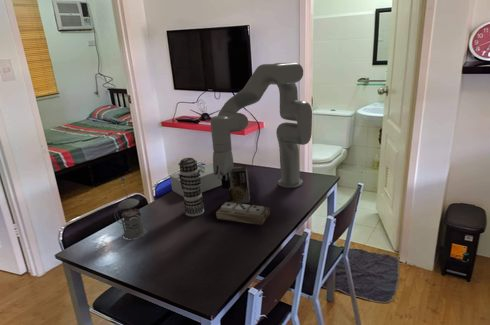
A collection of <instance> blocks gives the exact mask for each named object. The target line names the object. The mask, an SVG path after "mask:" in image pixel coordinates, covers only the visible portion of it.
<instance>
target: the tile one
mask: <svg viewBox="0 0 490 325" xmlns="http://www.w3.org/2000/svg"><path fill="white" fill-rule="evenodd" d="M236 204H237V203H230V201H225V202H224V203H222V205H221V207H220V208H221V211H228V212H233V210H234V209H235V208H236V207H237V205H236Z"/></svg>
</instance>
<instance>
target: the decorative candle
mask: <svg viewBox="0 0 490 325" xmlns="http://www.w3.org/2000/svg"><path fill="white" fill-rule="evenodd" d="M178 166H179V173H180V174H181V175H180V174H179V176H180V178H179V179H180V182H181V186H182V188H181V189H182V190H183V193H184V197H183V205H184V206H183V207H184V211H185V215H186V216H188V217H197V216H201V215H202V214H204V212H205V206H204V198H203V193H201V189H200V188H201V185H200V184H201V181H200V180H201V178H200V177H199V176H200V175H201V174H200V170H198V161H197V160H196V159H195V158H193V157H185V158H183V159H181V160H180V161H179V163H178Z"/></svg>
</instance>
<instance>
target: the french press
mask: <svg viewBox="0 0 490 325" xmlns="http://www.w3.org/2000/svg"><path fill="white" fill-rule="evenodd" d="M126 180H127V178H126V177H125V176H122V177H121V178H120V181H121V182H123V184H124V189H125V194H126V199H123V200H122V201H121V202H119V203H118V204H117V208H115V210H114V212H113V213H114V219H115V220H116V222H117V223H119V224H121V225H122V229H123V232H124V233H123V235H122V237H123V236H124V237H125V238H128V239H134V238H138V237H141V236H143V235H144V234H145V233H146V232H147V233H148V230H147V229H145V227H144V222H143V217H142V213H141V212H140V209H139V208H135V207H137V206H138V205H139V203H140V200H138V199H136V198H128V194H127V192H128V191H127V188H126V183H125V181H126ZM118 210H119V211H122V210H124V211H122V212H121V214H120V215H121V218H120V216H119V214H118V213H116V212H117V211H118ZM116 216H117V217H116ZM117 218H118V219H119V220H118V219H117ZM146 230H147V231H146ZM147 233H146V234H147ZM143 237H144V236H143Z"/></svg>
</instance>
